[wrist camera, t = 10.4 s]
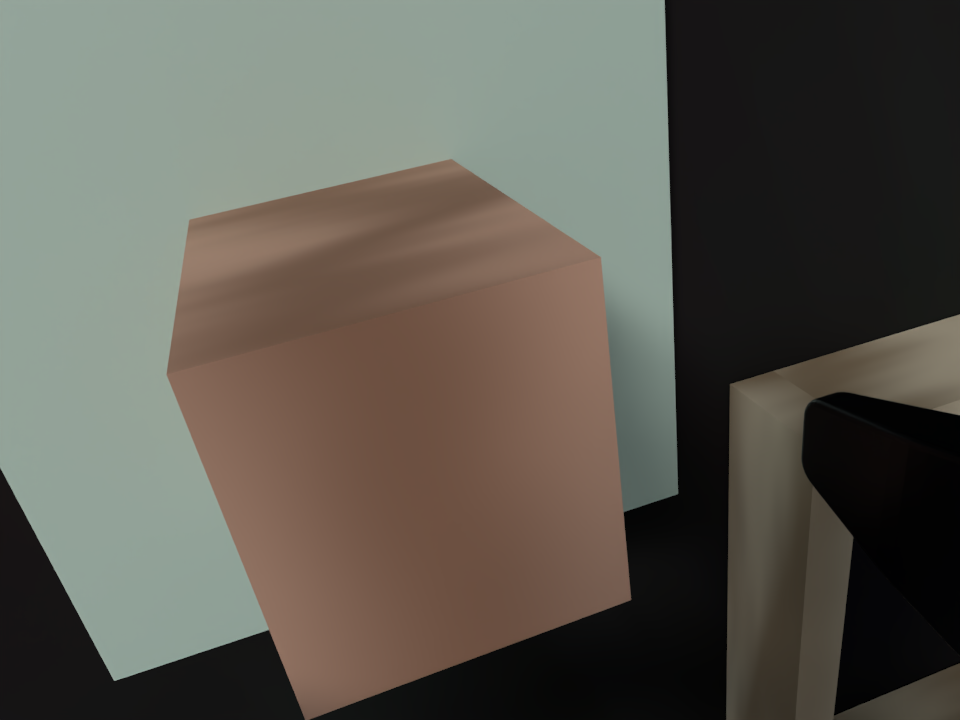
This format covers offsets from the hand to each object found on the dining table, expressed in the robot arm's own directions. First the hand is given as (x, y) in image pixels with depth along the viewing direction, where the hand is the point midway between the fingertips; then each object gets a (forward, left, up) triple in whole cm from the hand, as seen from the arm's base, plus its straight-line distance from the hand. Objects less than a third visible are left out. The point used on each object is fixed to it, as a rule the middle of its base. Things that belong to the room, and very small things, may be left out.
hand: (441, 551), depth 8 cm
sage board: (0, 0, -7) cm, 7 cm away
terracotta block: (0, 0, -7) cm, 7 cm away
